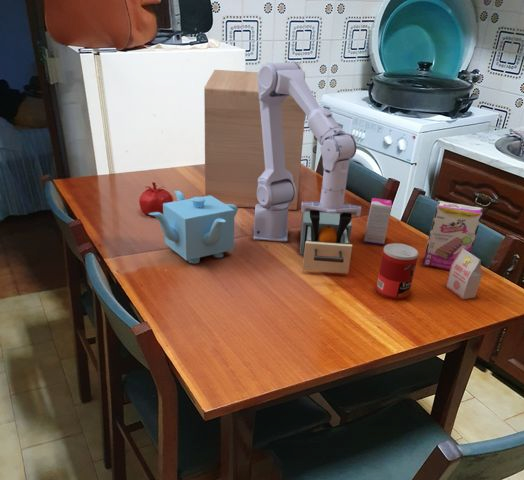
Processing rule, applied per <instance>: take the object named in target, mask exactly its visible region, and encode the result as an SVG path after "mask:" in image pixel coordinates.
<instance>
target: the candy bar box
mask: <svg viewBox="0 0 524 480" xmlns="http://www.w3.org/2000/svg"><path fill="white" fill-rule="evenodd" d="M483 210H484V209H483V207H479V206H475V205H474V206H473V205H466V204H461V203H455V202H449V201H443V200H438V201H437V205H436V208H435V212H434V216H433V219H432V223H431V227H430V231H429V236H428V238H427V244H426V247H425V250H424V255H423V259H422V266H424V267H425V266H426V267H429V268H430V267H431V268H436V269H440V270H441V269H442V270H445V271H450V268H451V265H452V263H453V262H454V260H455V259H456V257H457V256H458V254H459V252H460V250H461V248H462V249H465V250H466V251H468V252H469V253H471V254H472V249H473V246H474V243H475V240H476V237H477V233H478V230H479V227H480V224H481V220H482V216H483V212H484V211H483Z"/></svg>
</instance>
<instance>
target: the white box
mask: <svg viewBox="0 0 524 480" xmlns="http://www.w3.org/2000/svg"><path fill="white" fill-rule="evenodd" d="M481 263H482V260H481V258H479V257H477V256H476V255H474V254H473V253H472V252H471V253H469V252H468V251H466V250H465V249H462V248H461V250H460V252H459V254H458V256H457V257H456V259H455V260H454V262H453V263H452V265H451V268H450V270H449V273H448V276H447V279H446V283H445V287H446V288H447V289H448V290H449V291H451V292H452V293H453V294H455V295H456V296H457V297H459V299H461V300H467V299H473V298H474V299H475V298H476V295H477V292H478V290H479V286H480V284H481V281H482V277H483V273H482V264H481Z"/></svg>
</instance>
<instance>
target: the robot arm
mask: <svg viewBox="0 0 524 480" xmlns="http://www.w3.org/2000/svg"><path fill="white" fill-rule="evenodd" d="M257 72H258V74H257V81H258V93H259V101H260V113H261V124H262V136H263V148H264V160H265V171H264V172H263V173H262V175H261V176H260V177H259V178H258V188H257V199H258V201H259V203H260V204H256V206H255V208H254V219H253V221H254V222H253V224H252V225H253V226H252V230H253V237H252V238H253V240H257V241H268V242H269V241H272V242H283V243H287V242H288V237H289V236H288V234H289V230H288V218H289V217H288V216H289V210H288V206H290V205H291V201H293V200H294V199H295V196H296V188H295V185H294V182H293V175H292V174H291V173H290V172H289V171H288V170H286V168H285V157H284V143H283V128H282V114H281V104H282V103H283V101H284V100H285V98H287V97H288V96H289V95H291V96H292V98H293V99H294V100H295V101H296V103H297V104H298V105H299V106H300V108H301V109H302V110H303V111H304V113H305V116H307V119H308V120H307V127H308V128H309V130H310V131H311V133H312V134H313V136H314V137H315V139H316V140H317V141H318V143H319V145H320V155H321V158H322V168H323V175H322V181H321V182H322V183H321V190H320V199H319V201H301V207H300V208H301V209H300V212H301V213H302V212H306V211H308V212H310V219H311V222H312V225H313V228H314V234H315V241H318V227H319V220H320V212H322V213H331V214H340V220H339V228H338V233H337V243H340V239H341V237H342V234H343V232H344V230H345V229H346V227H347V226H348V224H349V223H350V221H351V222H352V216H356V217H361V213H362V206H361V205H354V204H350V203H344V202H345V195H346V189H347V181H348V175H349V167H350V162H351V161H350V160H352V158H354V157H355V155H356V153H357V141H356V138H355V137H354V135H353V134H352V133H350V132H346V130H343V129H342V127H340V126H339V123H338V122H337V121H336V119H335V118H334V117H333V113H332V111H331V110H329V109H328V108H321V106H320V105H319V102H318V101H317V100H316V97H315V95H314V93H313V92H312V91H311V89H310V87H309V85H308V83H307V82H306V72H305V71H304V69H303V68H302V66H301V65H300V63H299V62H298V61H291V62H265V63H263V64H262V65H261V67H260V68H259V70H258V71H257ZM277 180H280V181H277ZM273 181H275V182H273Z"/></svg>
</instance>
